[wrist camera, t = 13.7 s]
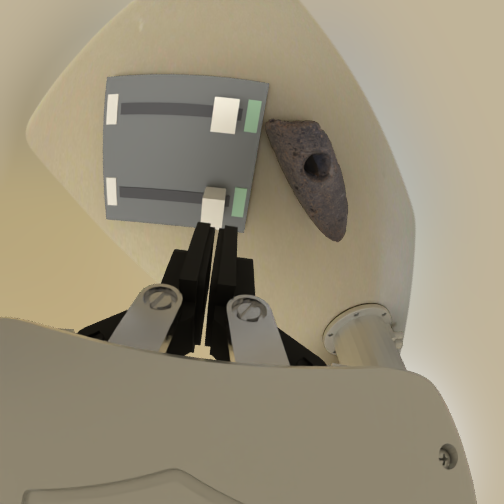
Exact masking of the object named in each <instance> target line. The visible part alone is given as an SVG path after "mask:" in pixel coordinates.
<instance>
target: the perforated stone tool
mask: <svg viewBox="0 0 504 504" xmlns="http://www.w3.org/2000/svg"><path fill="white" fill-rule="evenodd" d="M265 128H266V131H267V135H268V138H269V140H270V143H271V145H272V147H273V149H274V151H275V153H276V157H277V159H278V161H279V163H280V166H281V168H282V170H283V172H284V174H285V176H286V178H287V180H288V182H289V184H290V186H291V188H292V190H293V192H294V194H295V195H296V197H297V199H298V200H299V202H300V204H301V205H302V207H303V208H304V210H305V211H306V213H307V214H308V216H309V217H310V218H311V220H312V221H313V222H314V223H315V225H316V226H317V227H318V229H319V230H320V231H321V232H322V233H323V234H324V235H325V236H326V237H328V238H329V239H331V240H333V241H336V242H339V241H340V240H342V238H343V237H344V235H345V232H346V225H347V214H348V203H347V198H346V192H345V185H344V181H343V176H342V172H341V169H340V166H339V164H338V162H337V159H336V157H335V153H334V150H333V147H332V144H331V142H330V140H329V138H328V136H327V134H326V133H325V132H324V131H323V130H322V129H321V128H320V126H319V124H318V123H317V122H315V121H303V122H300V121H293V122H288V121H287V122H286V121H281V120H275V119H271V120H269V122H266V125H265Z"/></svg>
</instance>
